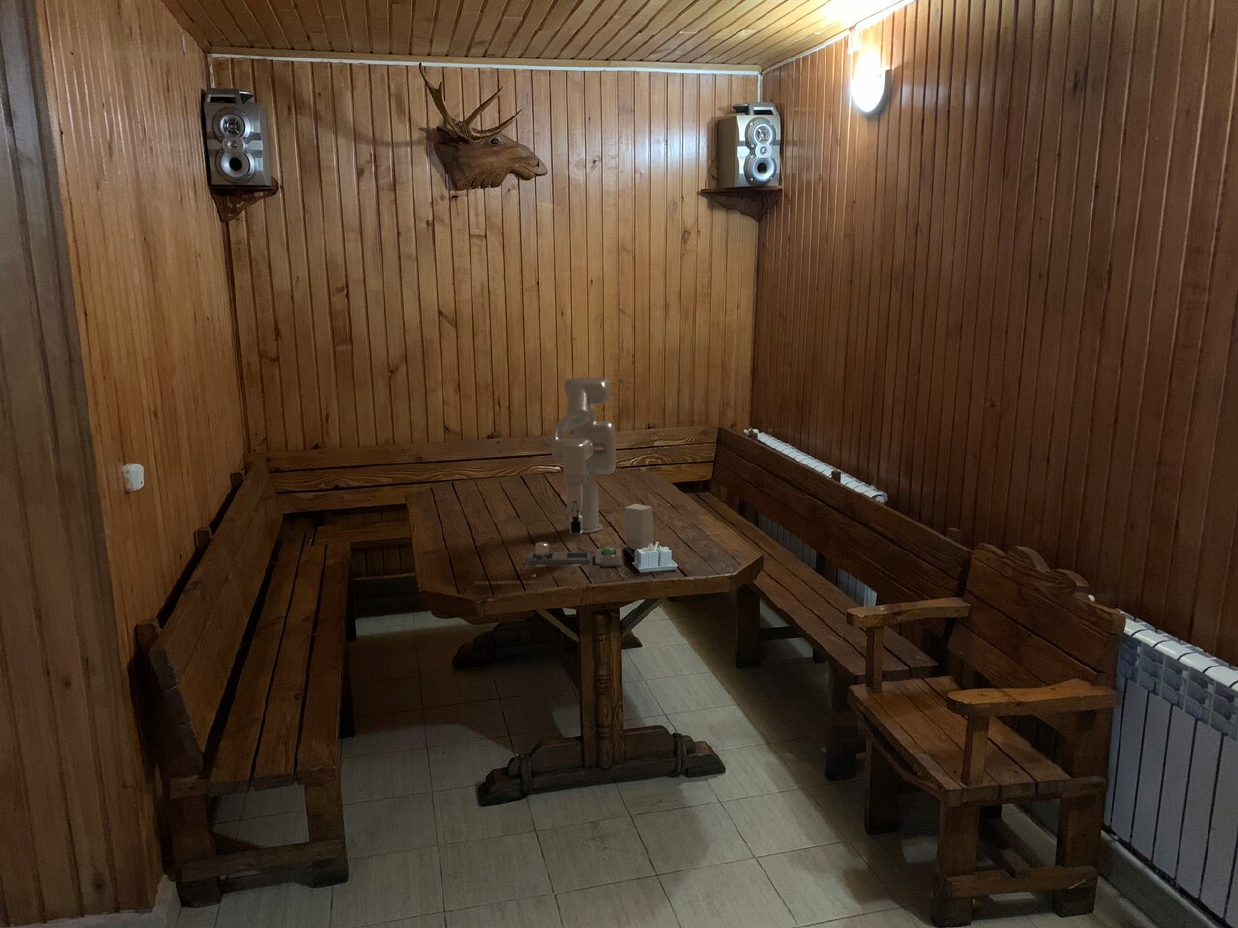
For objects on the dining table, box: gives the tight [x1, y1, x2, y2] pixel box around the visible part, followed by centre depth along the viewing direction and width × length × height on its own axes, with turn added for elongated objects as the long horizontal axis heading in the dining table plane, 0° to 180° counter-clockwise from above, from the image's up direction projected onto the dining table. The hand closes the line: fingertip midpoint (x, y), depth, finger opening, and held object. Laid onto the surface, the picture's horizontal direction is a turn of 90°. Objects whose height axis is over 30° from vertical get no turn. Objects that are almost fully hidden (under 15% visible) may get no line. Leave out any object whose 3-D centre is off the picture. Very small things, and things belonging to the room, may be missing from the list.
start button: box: [602, 546, 615, 555], centre depth 311 cm, size 4×4×3 cm
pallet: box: [524, 551, 594, 568], centre depth 311 cm, size 13×23×2 cm, turn 90°
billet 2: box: [568, 514, 584, 535], centre depth 309 cm, size 4×4×6 cm
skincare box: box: [624, 503, 654, 548], centre depth 326 cm, size 8×7×16 cm
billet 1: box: [534, 541, 550, 560], centre depth 311 cm, size 4×4×6 cm
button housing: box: [595, 547, 623, 567], centre depth 311 cm, size 9×9×4 cm
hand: (576, 530), depth 309 cm, fingers closed on billet 2, 4 cm apart
